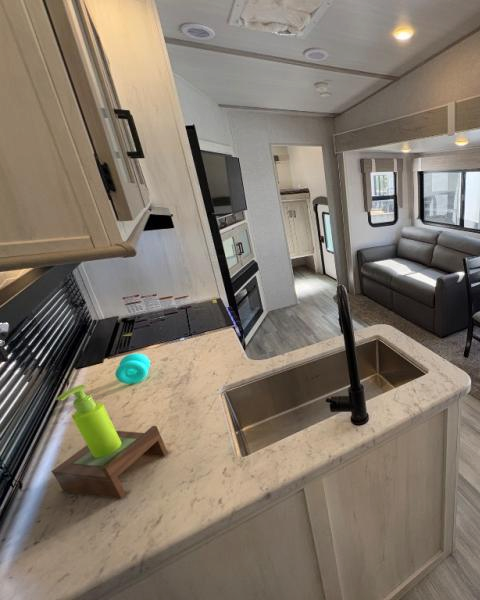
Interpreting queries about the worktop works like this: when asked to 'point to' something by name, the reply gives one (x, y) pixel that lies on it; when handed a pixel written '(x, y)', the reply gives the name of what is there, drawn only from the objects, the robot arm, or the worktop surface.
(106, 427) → the soap dispenser
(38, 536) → the worktop surface
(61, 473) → the wooden picture frame
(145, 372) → the turquoise spool
